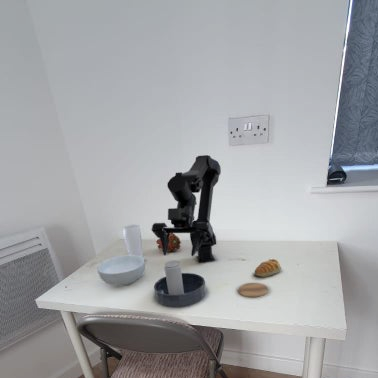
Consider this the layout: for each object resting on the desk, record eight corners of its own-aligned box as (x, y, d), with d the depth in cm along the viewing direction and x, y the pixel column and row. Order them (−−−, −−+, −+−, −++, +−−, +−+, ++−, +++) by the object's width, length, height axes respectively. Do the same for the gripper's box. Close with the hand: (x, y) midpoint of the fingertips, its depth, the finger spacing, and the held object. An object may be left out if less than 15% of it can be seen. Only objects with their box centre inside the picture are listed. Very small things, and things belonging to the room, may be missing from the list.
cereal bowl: (92, 289, 116) (86, 271, 112) (117, 270, 129) (113, 253, 125) (133, 293, 109) (128, 274, 106) (155, 273, 123) (152, 255, 119)
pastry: (264, 280, 108) (264, 269, 106) (249, 274, 113) (249, 264, 111) (282, 270, 113) (283, 260, 111) (267, 266, 117) (267, 256, 116)
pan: (154, 287, 112) (152, 277, 110) (200, 280, 113) (199, 269, 111) (157, 311, 97) (155, 299, 95) (210, 302, 99) (209, 290, 97)
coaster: (235, 286, 106) (235, 285, 106) (261, 282, 107) (261, 281, 107) (243, 299, 98) (243, 298, 98) (272, 294, 99) (272, 293, 99)
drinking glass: (126, 265, 133) (118, 229, 126) (134, 258, 138) (127, 223, 131) (140, 266, 130) (133, 229, 123) (148, 259, 136) (142, 224, 128)
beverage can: (186, 295, 103) (182, 260, 97) (181, 303, 99) (176, 267, 94) (172, 294, 105) (167, 260, 99) (167, 302, 101) (161, 266, 95)
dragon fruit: (182, 256, 139) (160, 257, 146) (187, 239, 142) (165, 241, 149) (171, 244, 133) (149, 246, 139) (177, 227, 136) (155, 230, 142)
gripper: (148, 197, 100) (139, 243, 96) (207, 194, 94) (200, 244, 90) (162, 215, 110) (154, 258, 106) (215, 214, 104) (209, 259, 100)
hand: (178, 255), depth 101 cm, fingers open, 9 cm apart
